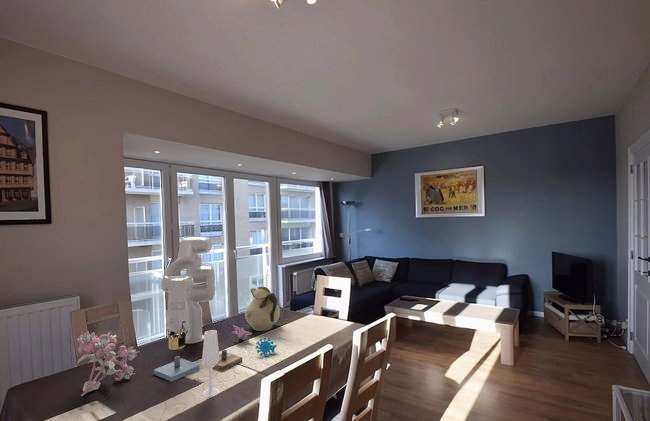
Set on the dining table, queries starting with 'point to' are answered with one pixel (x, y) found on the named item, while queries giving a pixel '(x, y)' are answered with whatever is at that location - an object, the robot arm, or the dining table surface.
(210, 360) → the champagne flute
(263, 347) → the gear
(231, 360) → the rod stand
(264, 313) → the pitcher
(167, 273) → the robot arm
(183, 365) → the hub plate
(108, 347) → the flower
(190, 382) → the dining table surface
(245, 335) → the lily
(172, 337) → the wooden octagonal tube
